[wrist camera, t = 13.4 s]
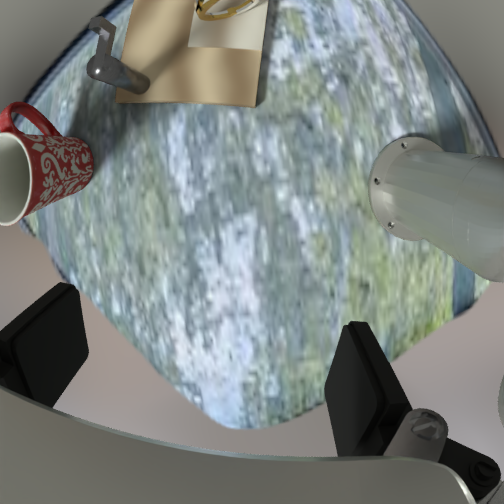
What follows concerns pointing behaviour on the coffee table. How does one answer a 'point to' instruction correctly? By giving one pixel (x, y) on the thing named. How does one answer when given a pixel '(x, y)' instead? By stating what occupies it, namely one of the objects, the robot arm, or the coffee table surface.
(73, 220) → the coffee table surface
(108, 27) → the keeper hook
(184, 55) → the board
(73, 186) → the mug
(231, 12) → the ring
